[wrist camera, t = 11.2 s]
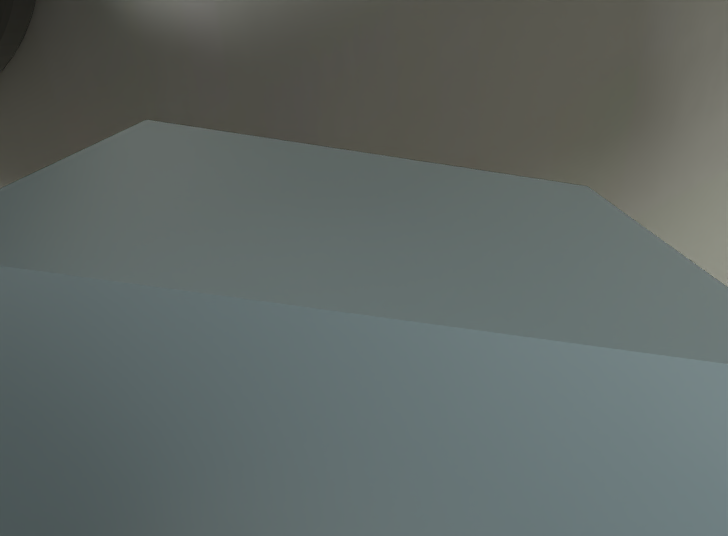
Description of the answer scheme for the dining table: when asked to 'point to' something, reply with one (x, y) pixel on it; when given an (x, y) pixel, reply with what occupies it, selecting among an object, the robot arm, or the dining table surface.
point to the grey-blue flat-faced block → (346, 350)
